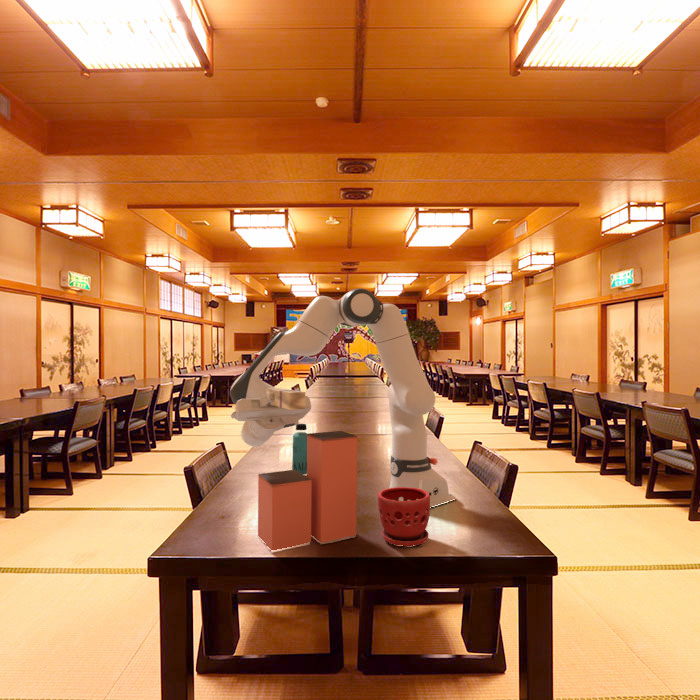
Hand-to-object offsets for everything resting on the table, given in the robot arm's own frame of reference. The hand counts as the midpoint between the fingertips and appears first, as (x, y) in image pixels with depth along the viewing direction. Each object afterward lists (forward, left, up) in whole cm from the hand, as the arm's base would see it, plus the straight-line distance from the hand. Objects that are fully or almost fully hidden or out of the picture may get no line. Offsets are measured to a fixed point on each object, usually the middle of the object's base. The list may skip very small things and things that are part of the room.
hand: (282, 395), depth 117 cm
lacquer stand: (-6, +4, -36) cm, 37 cm away
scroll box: (0, +2, -2) cm, 3 cm away
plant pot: (-27, +16, -37) cm, 48 cm away
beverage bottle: (-26, -50, -36) cm, 67 cm away
